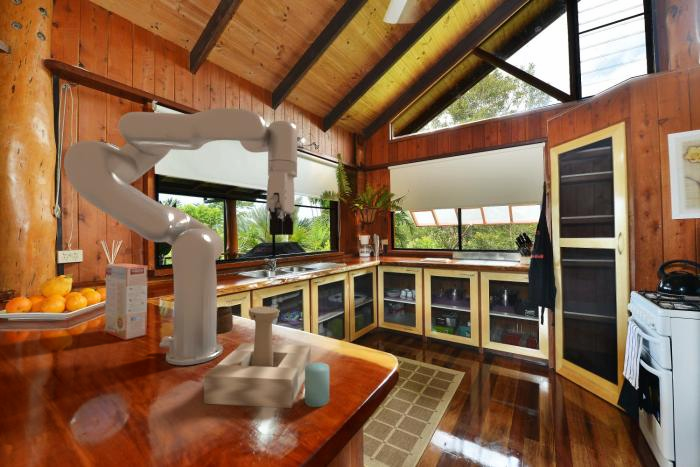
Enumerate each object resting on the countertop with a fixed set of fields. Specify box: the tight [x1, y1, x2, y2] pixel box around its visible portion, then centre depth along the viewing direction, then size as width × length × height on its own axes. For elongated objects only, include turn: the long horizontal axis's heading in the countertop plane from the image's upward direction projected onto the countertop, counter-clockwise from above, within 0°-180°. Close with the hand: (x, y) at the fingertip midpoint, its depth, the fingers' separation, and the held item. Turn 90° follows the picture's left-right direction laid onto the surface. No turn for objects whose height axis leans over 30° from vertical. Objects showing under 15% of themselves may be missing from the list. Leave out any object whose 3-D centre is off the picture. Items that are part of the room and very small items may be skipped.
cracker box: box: [104, 262, 148, 341], centre depth 90 cm, size 14×6×21 cm, turn 58°
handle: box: [248, 306, 280, 367], centre depth 61 cm, size 5×6×15 cm
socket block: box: [203, 342, 311, 409], centre depth 61 cm, size 16×16×5 cm
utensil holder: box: [216, 295, 234, 334], centre depth 94 cm, size 6×6×12 cm
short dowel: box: [304, 361, 330, 408], centre depth 55 cm, size 4×4×6 cm
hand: (282, 234), depth 79 cm, fingers open, 9 cm apart
